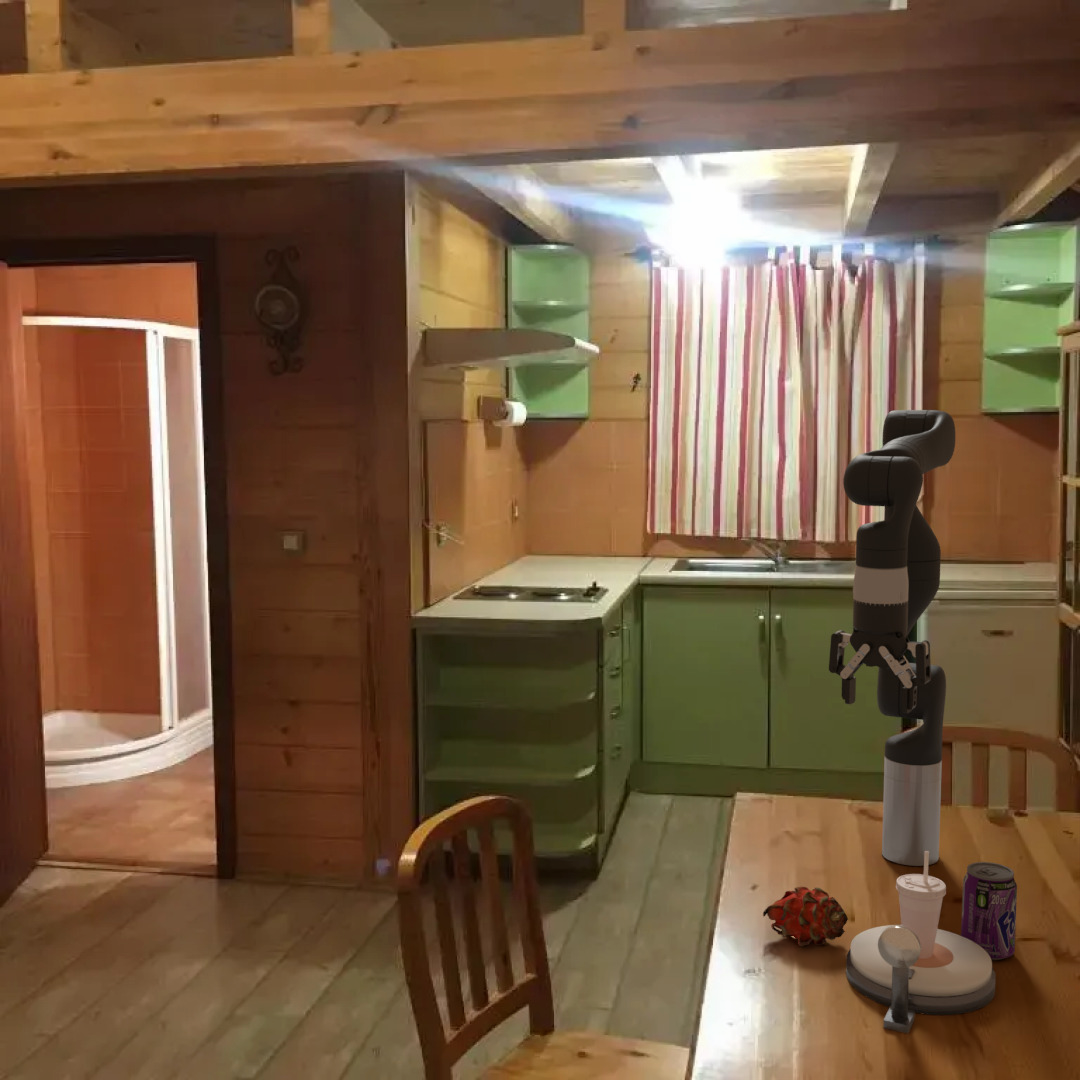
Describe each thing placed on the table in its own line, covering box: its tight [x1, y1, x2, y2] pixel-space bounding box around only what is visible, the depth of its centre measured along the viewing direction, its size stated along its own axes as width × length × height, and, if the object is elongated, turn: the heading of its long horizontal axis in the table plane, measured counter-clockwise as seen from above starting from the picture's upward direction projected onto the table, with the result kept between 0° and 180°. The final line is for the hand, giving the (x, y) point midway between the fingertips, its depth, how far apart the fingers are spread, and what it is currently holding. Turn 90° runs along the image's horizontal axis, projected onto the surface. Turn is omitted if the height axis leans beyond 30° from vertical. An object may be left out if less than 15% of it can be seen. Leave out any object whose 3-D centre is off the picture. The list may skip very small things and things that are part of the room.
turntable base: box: [845, 948, 996, 1016], centre depth 165 cm, size 19×19×2 cm
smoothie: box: [895, 851, 947, 959], centre depth 164 cm, size 6×6×14 cm
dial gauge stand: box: [878, 924, 921, 1034], centre depth 153 cm, size 5×5×13 cm
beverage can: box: [960, 861, 1018, 961], centre depth 172 cm, size 7×7×12 cm
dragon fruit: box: [762, 886, 849, 947], centre depth 177 cm, size 8×8×12 cm
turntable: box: [850, 924, 993, 997], centre depth 165 cm, size 18×18×2 cm
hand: (878, 707), depth 177 cm, fingers open, 8 cm apart
